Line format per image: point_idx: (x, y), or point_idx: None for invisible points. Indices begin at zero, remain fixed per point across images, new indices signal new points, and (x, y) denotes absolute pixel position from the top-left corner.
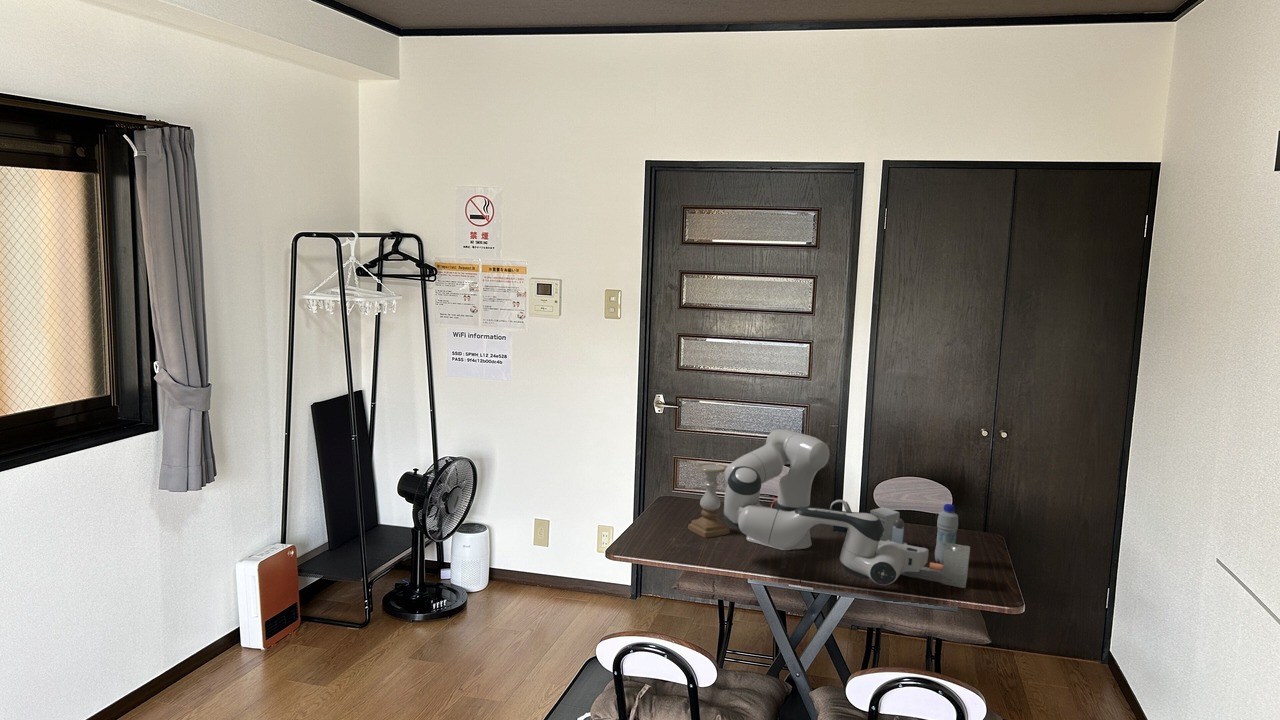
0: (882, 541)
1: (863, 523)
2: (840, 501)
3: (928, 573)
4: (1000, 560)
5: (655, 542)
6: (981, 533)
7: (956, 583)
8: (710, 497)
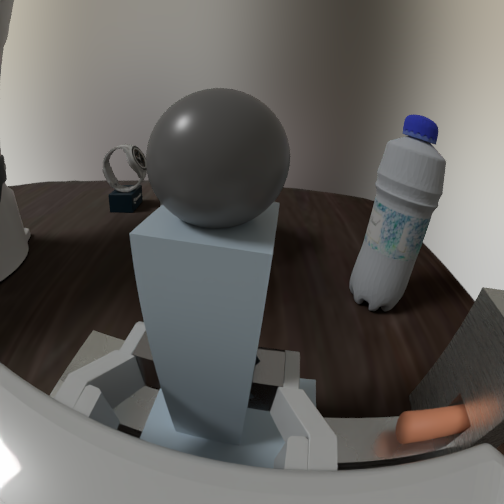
0: (23, 425)
1: None
2: (119, 146)
3: (388, 463)
4: (441, 262)
5: None
6: (367, 199)
7: None
8: None
